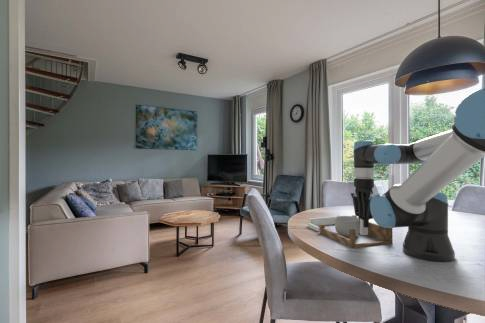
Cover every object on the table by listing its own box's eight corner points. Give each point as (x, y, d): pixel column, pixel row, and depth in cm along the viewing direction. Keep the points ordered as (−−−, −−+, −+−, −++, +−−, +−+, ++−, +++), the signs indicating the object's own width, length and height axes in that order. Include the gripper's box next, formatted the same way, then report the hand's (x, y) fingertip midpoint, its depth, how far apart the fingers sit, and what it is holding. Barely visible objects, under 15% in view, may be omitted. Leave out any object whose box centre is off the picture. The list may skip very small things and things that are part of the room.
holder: (351, 228, 126) (351, 220, 126) (317, 231, 121) (317, 223, 121) (337, 223, 136) (337, 216, 136) (306, 226, 131) (306, 218, 131)
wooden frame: (392, 243, 103) (392, 226, 103) (352, 248, 98) (352, 230, 98) (354, 229, 124) (354, 215, 124) (319, 232, 119) (319, 218, 119)
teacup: (364, 239, 109) (364, 220, 109) (339, 239, 109) (339, 220, 109) (351, 230, 123) (351, 214, 123) (329, 230, 123) (329, 214, 123)
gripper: (383, 178, 100) (383, 238, 100) (360, 176, 112) (360, 229, 112) (368, 179, 98) (368, 240, 98) (345, 177, 110) (345, 230, 110)
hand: (363, 234), depth 105 cm, fingers closed
